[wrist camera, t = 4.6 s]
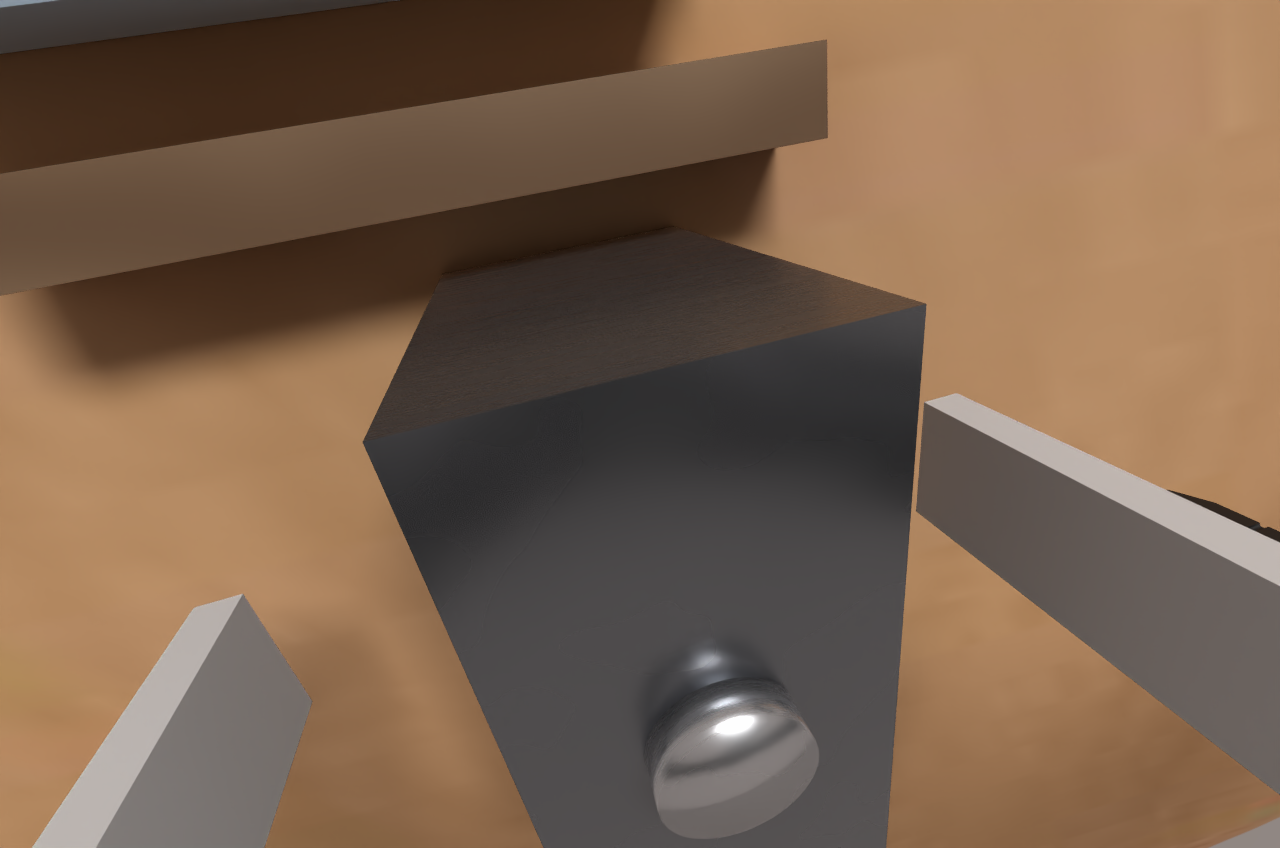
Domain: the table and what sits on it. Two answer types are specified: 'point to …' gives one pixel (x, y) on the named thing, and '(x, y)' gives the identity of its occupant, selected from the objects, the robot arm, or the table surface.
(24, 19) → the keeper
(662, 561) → the grey block with knob
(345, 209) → the door edge strip
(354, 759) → the table surface
